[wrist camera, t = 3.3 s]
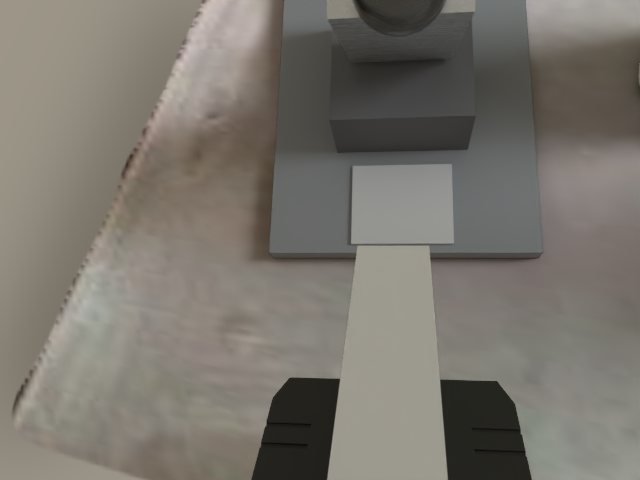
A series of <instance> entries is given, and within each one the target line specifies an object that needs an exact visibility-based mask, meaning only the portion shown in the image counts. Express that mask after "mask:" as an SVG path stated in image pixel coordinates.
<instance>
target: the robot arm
mask: <svg viewBox="0 0 640 480" xmlns="http://www.w3.org/2000/svg"><path fill="white" fill-rule="evenodd" d="M252 480H532V479H531V474H530V470H529V465H528V461H527V457H526V456H525V447H524V443H523V439H522V435H521V433H520V425H519V421H518V416H517V412H516V407H515V404H514V402H513V401H512V400H511V398H510V397H509V396H508V395H507V393H506V392H505V391H504V390H503V388H502V387H501V386H500V385H499V383H498V382H497V381H466V380H440V374H439V362H438V349H437V336H436V324H435V311H434V299H433V286H432V273H431V261H430V248H429V246H357V254H356V262H355V269H354V277H353V285H352V292H351V300H350V308H349V315H348V323H347V331H346V338H345V346H344V354H343V362H342V369H341V377H340V379H322V378H289V379H288V380H287V382H286V383H285V384H284V385H283V386H282V388H281V389H280V390H279V391H278V392H277V394H276V395H275V396H274V397H273V399H272V403H271V407H270V411H269V415H268V419H267V426H266V427H265V430H264V434H263V438H262V442H261V447H260V449H259V453H258V457H257V461H256V464H255V468H254V472H253V476H252Z"/></svg>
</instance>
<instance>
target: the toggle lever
mask: <svg viewBox="0 0 640 480" xmlns="http://www.w3.org/2000/svg"><path fill="white" fill-rule="evenodd" d="M474 13H475V0H327V20H328V22H329V24H330V25H331V27H332V29H333V31H334V33H335V34H336V36H337V38H338V40H339V42H340V43H341V45H342V47H343V49H344V51H345V52H346V54H347V56H348V58H349V60H350V61H351V63H360V62H384V61H407V60H430V59H452V58H453V56H454V54H455V52H456V50H457V48H458V45H459V43H460V41H461V39H462V37H463V35H464V33H465V31H466V29H467V27H468V25H469V23H470V21H471V19H472V17H473V15H474Z"/></svg>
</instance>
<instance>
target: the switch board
mask: <svg viewBox="0 0 640 480" xmlns="http://www.w3.org/2000/svg"><path fill="white" fill-rule="evenodd" d="M357 246H429V248H430V258H539V257H540V256H541V254H542V253H543V243H542V229H541V215H540V200H539V186H538V172H537V157H536V143H535V128H534V114H533V100H532V85H531V71H530V56H529V42H528V28H527V13H526V0H475V13H474V15H473V17H472V19H471V21H470V23H469V25H468V27H467V29H466V31H465V33H464V35H463V37H462V39H461V41H460V43H459V45H458V48H457V50H456V52H455V54H454V56H453V58H452V59H430V60H407V61H384V62H360V63H351V61H350V60H349V58H348V56H347V54H346V52H345V51H344V49H343V47H342V45H341V43H340V42H339V40H338V38H337V36H336V34H335V33H334V31H333V29H332V27H331V25H330V24H329V22H328V20H327V0H284V13H283V30H282V46H281V63H280V80H279V96H278V113H277V130H276V146H275V163H274V180H273V196H272V213H271V230H270V246H269V253H270V254H271V256H272V257H273V258H356V254H357Z"/></svg>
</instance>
